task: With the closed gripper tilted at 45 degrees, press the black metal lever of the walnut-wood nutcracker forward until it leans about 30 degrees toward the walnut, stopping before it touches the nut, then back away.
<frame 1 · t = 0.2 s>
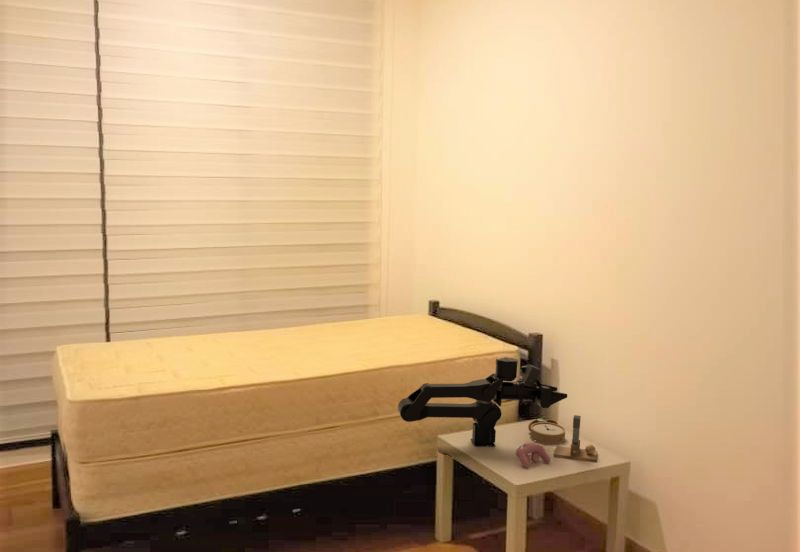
hand: (562, 392, 239), 16 cm above the table, tool horizontal, fingers open, 9 cm apart
lever: (576, 433, 228), point 7 cm above the table, hinge at 0.0°
alarm clock: (545, 437, 246), on the table
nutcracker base: (574, 454, 229), on the table
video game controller: (532, 464, 221), on the table
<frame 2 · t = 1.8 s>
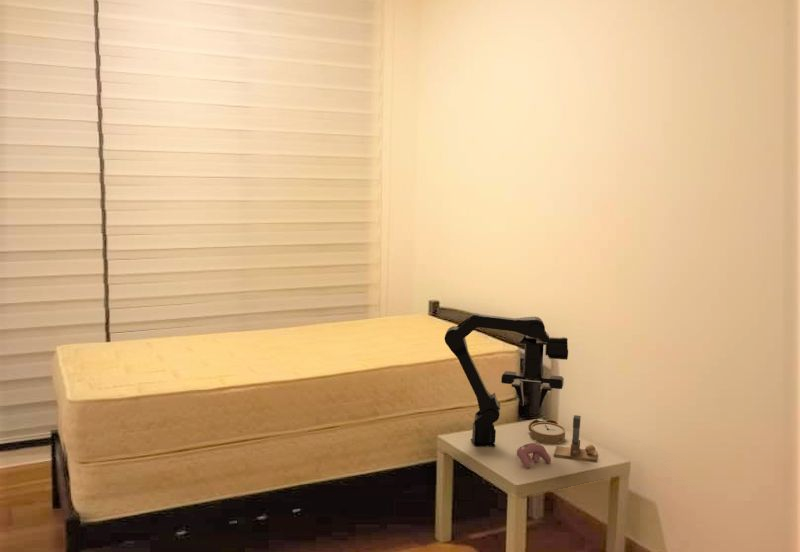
hand: (531, 406, 234), 13 cm above the table, tool pointing down, fingers open, 5 cm apart
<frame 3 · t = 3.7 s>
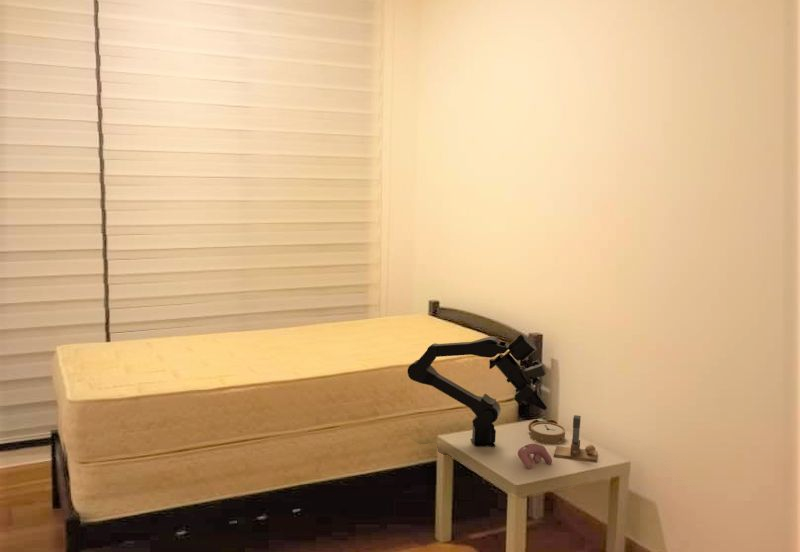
hand: (546, 408, 230), 13 cm above the table, tool tilted 45°, fingers closed
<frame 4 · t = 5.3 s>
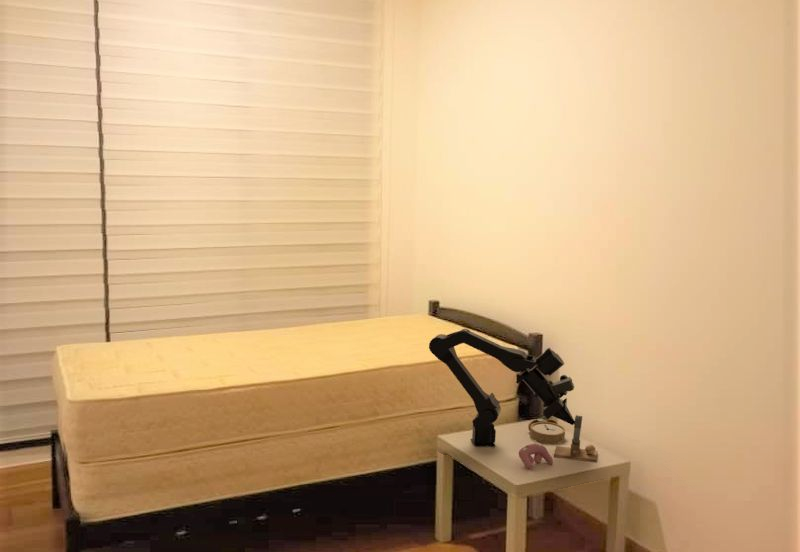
hand: (574, 423, 228), 10 cm above the table, tool tilted 45°, fingers closed, pressing on lever
lever: (576, 433, 228), point 7 cm above the table, hinge at 3.0°, touching gripper
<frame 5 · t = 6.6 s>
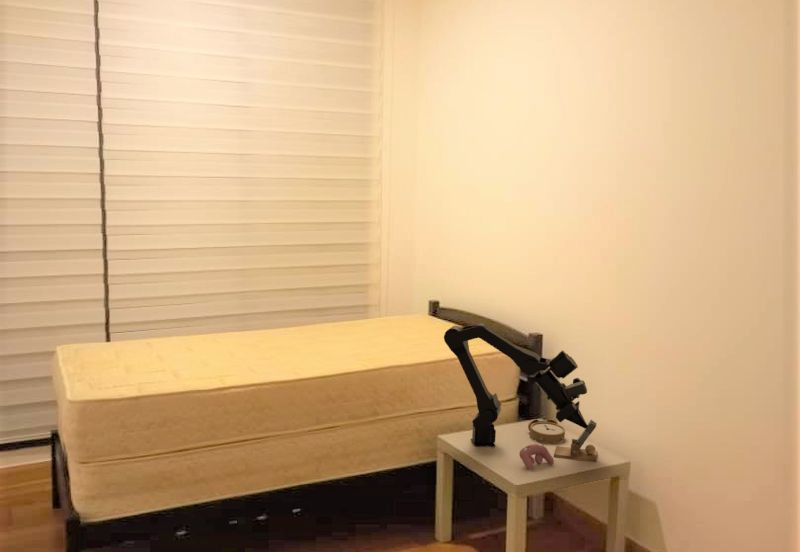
hand: (586, 427, 227), 9 cm above the table, tool tilted 45°, fingers closed, pressing on lever
lever: (583, 436, 228), point 6 cm above the table, hinge at 29.7°, touching gripper
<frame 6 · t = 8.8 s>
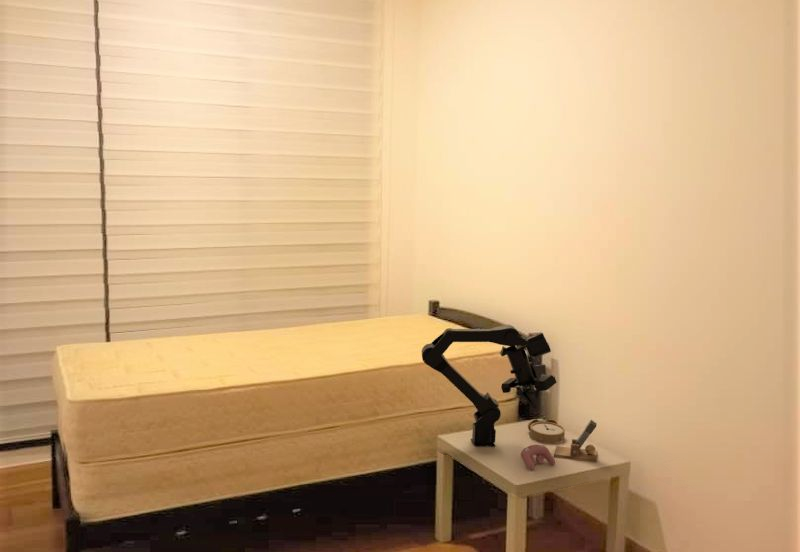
hand: (537, 408, 236), 12 cm above the table, tool tilted 25°, fingers closed
lever: (583, 436, 228), point 6 cm above the table, hinge at 29.8°
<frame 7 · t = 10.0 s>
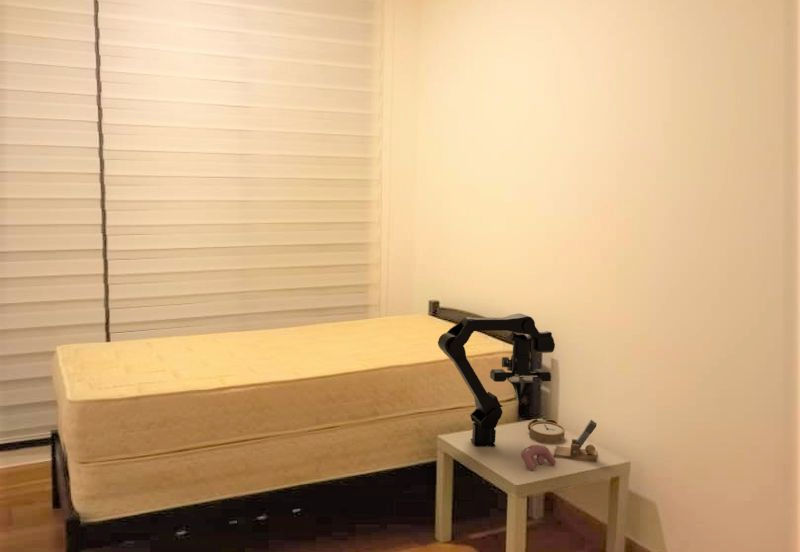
hand: (519, 401, 239), 13 cm above the table, tool pointing down, fingers closed
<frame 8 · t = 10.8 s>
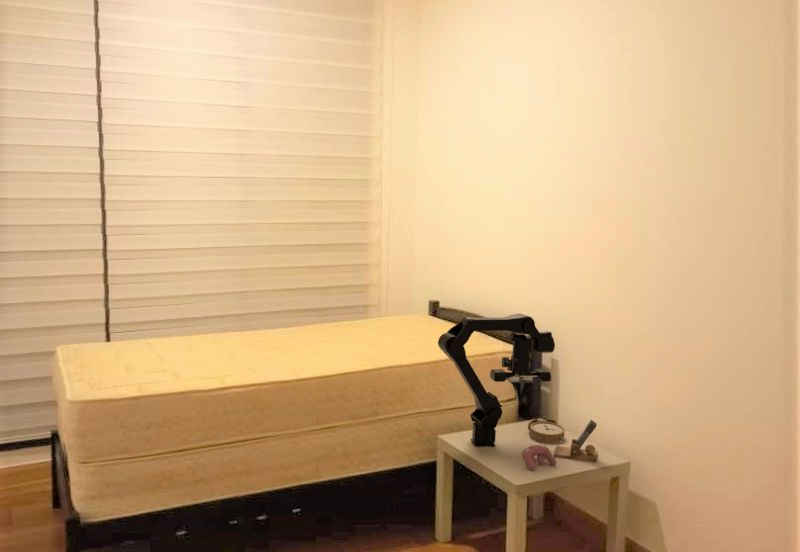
hand: (519, 401, 239), 13 cm above the table, tool pointing down, fingers closed
at the end: lever at +30° (first picture: +0°); lever touching nothing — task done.
